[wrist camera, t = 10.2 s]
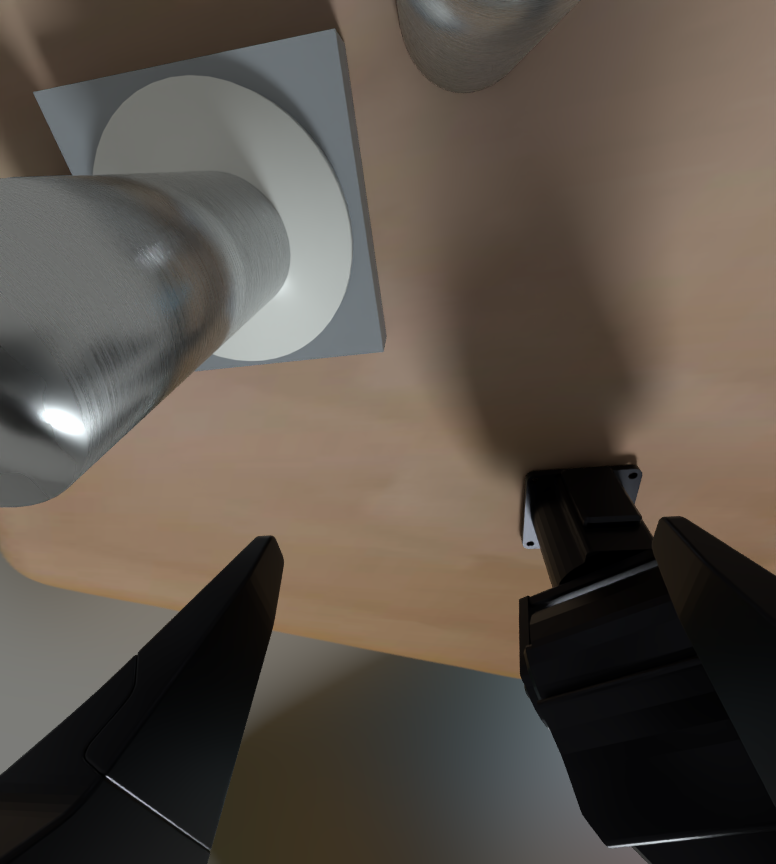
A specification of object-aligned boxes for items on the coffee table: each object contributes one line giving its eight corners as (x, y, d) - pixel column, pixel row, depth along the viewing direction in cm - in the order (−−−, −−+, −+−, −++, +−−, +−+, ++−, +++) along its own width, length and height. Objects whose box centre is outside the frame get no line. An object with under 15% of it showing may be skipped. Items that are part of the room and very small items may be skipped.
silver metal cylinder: (274, 327, 18) (87, 540, 8) (158, 280, 17) (-219, 451, 7) (305, 206, 15) (79, 294, 5) (169, 144, 14) (-421, 102, 4)
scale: (386, 336, 21) (378, 378, 17) (136, 363, 22) (74, 407, 18) (344, 43, 15) (316, -2, 11) (7, 113, 16) (-126, 96, 12)
